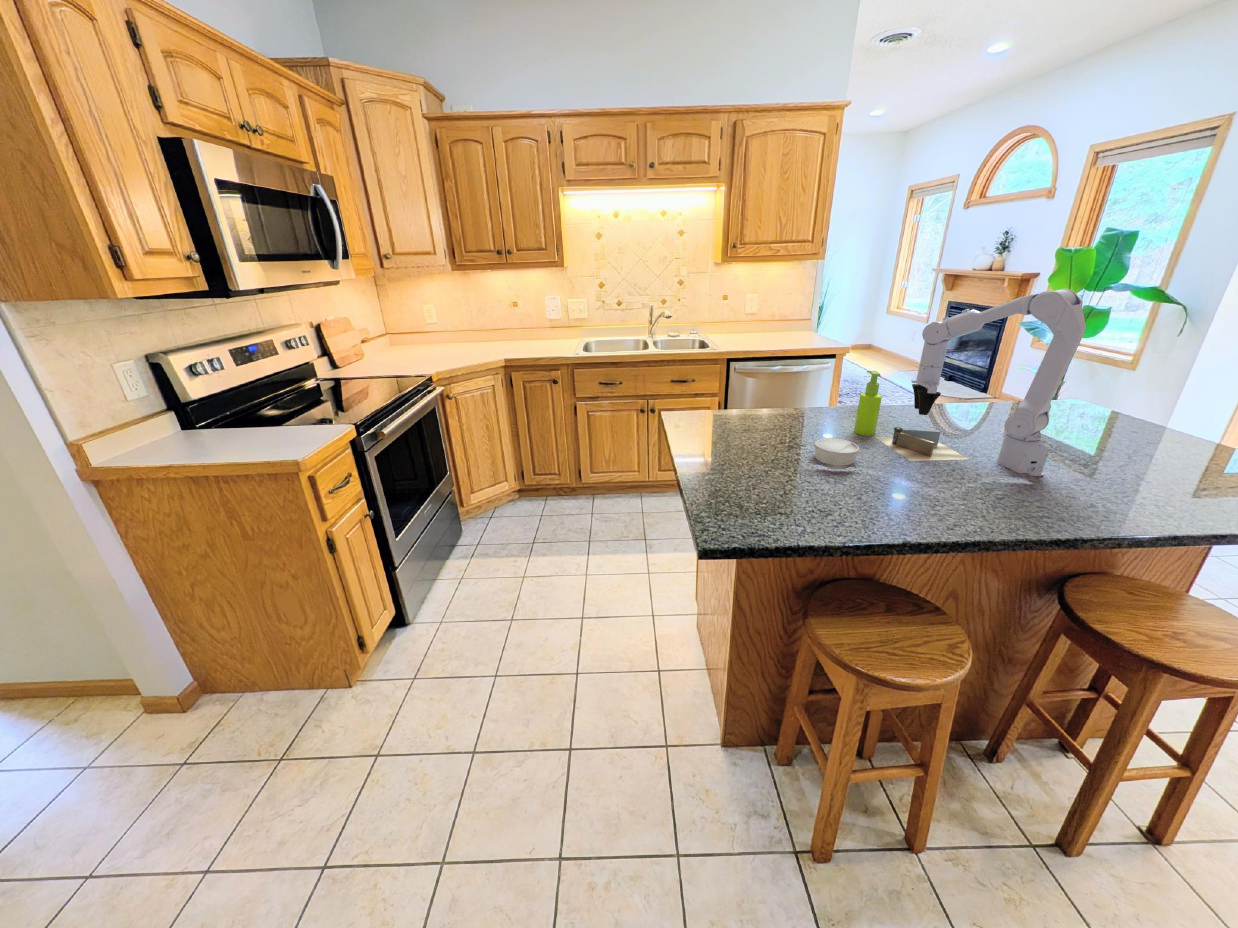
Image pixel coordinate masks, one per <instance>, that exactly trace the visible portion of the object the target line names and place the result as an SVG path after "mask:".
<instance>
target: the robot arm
mask: <svg viewBox="0 0 1238 928" xmlns="http://www.w3.org/2000/svg"><path fill="white" fill-rule="evenodd" d="M1083 305H1084V303H1083V300H1082V299H1081V298H1080V296H1079V295H1078V294H1077V293H1076V292H1075V291H1073V290H1071V289H1068V288H1060V289H1057V290H1046V291H1042V292H1040V293H1034V294H1030V295H1025V296H1021V297H1018V298H1014V299H1012V300H1009V301H1007V302H1005V303H1002V304H999V305H996V306H993V307H991V308H988V309H985V310H983V311H979V310H977V309H970V308H966V309H963V310H962V311H961V313H959V314H956V315H953V316H950V317H949V316H945V317H942V320H941V321H932V322H930V323H928V324H927V325H926V326H925V327H924V328H923V330H922V334H921V335H922V339H923V340H924V342H923V348H922V351H921V356H920V361H919V366H918V370H917V375H916V378H915V379H914V378H912V379H911V383H912V384H911V387H912V389H913V396H914V399H913V400H914V402H913V404H914V409H916V410H918V415H919V416H928V415H929V413H930V411H931V410H932V407H933V405H934V403H935V402H936V401H937V399H938V398H939V397H940V396H941V395H942V394H941V392H940V391H938V387H939V385H941V375H942V372H943V368H944V363H945V360H946V359H945V358H946V355H947V349H948V345H949V342H950V341H951V340H952V339H953V340H954V339H956V338H959V337H963V336H965V335H969V334H972V333H976V332H978V331H979V332H980V331H981V330H982V328H983V326H984V325H985V324H989V323H991V322H994V321H997V320H1001V319H1004V318H1008V317H1011V316H1015V315H1017V314H1019V315H1023V316H1029V315H1030V316H1033V318H1035V319H1036V320H1038V321H1040V322H1041V323H1043V324H1044V325H1046V326H1047V328H1048V329H1049V330H1050V332H1051V333H1052V334H1053V335H1052V336H1053V337H1052V339H1051V340H1050V343H1049V345H1048V347H1047V349H1046V352H1045V353H1044V356H1043V358H1042V360H1041V362H1040V364H1039V367H1038V368H1037V371H1036V373H1035V375H1034V377H1033V379H1032V382H1031V384H1030V386H1029V388H1028V390H1027V392H1026V394H1025V397H1024V398H1023V400H1022V401H1020V403H1019V405H1017V407H1016V408H1015V410H1014V412H1013V414H1011V415H1010V416H1008V417H1007V418H1006V420H1005V423H1004V431H1005V432H1004V437H1003V440H1002V444H1001V446H1000V450H999V453H998V457H997V459H996V460H997V461H996V463H997V464H999V466H1002V467H1005V468H1007V469H1009V470H1012V471H1014V472H1015V473H1018V474H1029V475H1030V476H1031V477H1044V476H1045V473H1043V470H1044V467H1045V464H1046V462H1047V461H1046V460H1047V459H1048V455H1049V449H1048V447H1047V446H1046V445H1044V443H1043V442H1042V440H1041V439H1042V431H1043V430H1045V428H1047V426H1048V425H1049V423H1050V416H1049V415H1050V411H1051V409H1052V404H1051V402H1052V400H1053V398H1054V396H1055V393H1056V391H1057V389H1058V388H1059V386H1060V384H1061V382H1062V380H1063V377H1064V375H1065V374H1066V371H1067V369H1068V368H1069V365H1070V363H1071V362H1072V360H1073V358H1074V355H1075V353H1076V351H1077V350H1078V347H1079V345H1080V343H1081V341H1082V339H1083V337H1084V335H1085V333H1086V329H1087V326H1086V320H1085V315H1084V312H1083Z"/></svg>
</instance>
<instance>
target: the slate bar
mask: <svg viewBox="0 0 1238 928" xmlns="http://www.w3.org/2000/svg"><path fill="white" fill-rule="evenodd" d="M901 432H902V433H905V434H908V435H912V436H915V437H918V438H921V439H925V440H928V441H931V442H935V444H934V445H938V442H940V441H939V440H940V436H941V431H940V430H929V429H928V430H927V429H911V428H908V429H907V428H903V430H902V431H901Z"/></svg>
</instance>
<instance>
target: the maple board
mask: <svg viewBox="0 0 1238 928" xmlns="http://www.w3.org/2000/svg"><path fill="white" fill-rule="evenodd" d="M874 438H876V439H877V440H878V441H880V442H881V443H882V444H883V445H886V446H887V447H888V448H890V449H892V450H893V451H894V452H896V453H897V454H899V455H901V456H902V457H903V458H905V459H906V460H908V461H909V462H917V461H919V462H920V461H921V462H923V461H927V462H929V461H961V460H962V461H963V460H965V461H966V460H970V458H969V457H966V456H964V455H963V454H961V453H959V452H957V451H956V450H953V449H952V448H950V447H948V446H947V445H945V444H942V442H940V441H938V445H934V449H933V453H932V456H931V457H928V456H925V455H922V454H919V453H916V452H913V451H910V450H907V449H904V448H901V447H898V446H896V445H894V444H892V440H893V436H875V437H874Z"/></svg>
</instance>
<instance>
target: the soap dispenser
mask: <svg viewBox="0 0 1238 928" xmlns="http://www.w3.org/2000/svg"><path fill="white" fill-rule="evenodd" d="M866 373H867V374H868V373H869V374H870V375H871V376H870V381H869V382H867V383H866V387H865V392H862V393H860V394H859V395H860V396H859V401H858V406H857V413H856V416H855V417H856V419H855V423H854V431H853V432H854V433H855V434H856V435H860V436H874V435H876V429H877V424H878V418H879V414H880V409H881V408H880V407H881V403H882V399H883V396H882V395H881V394H879V389H880V383H879V382H877V381H878V377H880V376H881V373H880V372H879V371H877V370H867V371H866Z"/></svg>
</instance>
